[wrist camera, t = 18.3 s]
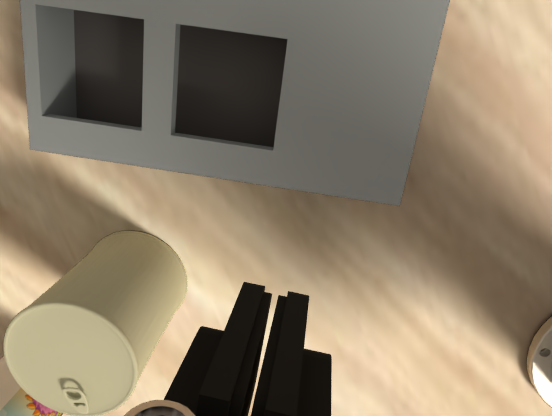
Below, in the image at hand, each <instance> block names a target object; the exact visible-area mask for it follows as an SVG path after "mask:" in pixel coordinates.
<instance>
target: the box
mask: <svg viewBox="0 0 552 416" xmlns="http://www.w3.org/2000/svg"><path fill="white" fill-rule="evenodd" d="M449 2H450V0H20V9H21V24H22V39H23V54H24V68H25V83H26V98H27V113H28V128H29V143H30V150H36V151H42V152H49V153H55V154H62V155H69V156H75V157H82V158H88V159H95V160H101V161H108V162H114V163H121V164H127V165H134V166H140V167H147V168H154V169H160V170H167V171H173V172H180V173H186V174H193V175H199V176H206V177H212V178H219V179H225V180H232V181H239V182H245V183H252V184H258V185H265V186H271V187H278V188H284V189H291V190H297V191H304V192H311V193H317V194H324V195H330V196H337V197H343V198H350V199H356V200H363V201H369V202H376V203H382V204H389V205H396V206H400V203H401V199H402V195H403V191H404V187H405V183H406V179H407V174H408V170H409V166H410V162H411V158H412V154H413V150H414V146H415V142H416V137H417V133H418V129H419V125H420V121H421V117H422V113H423V109H424V105H425V100H426V96H427V92H428V88H429V84H430V80H431V76H432V72H433V67H434V63H435V59H436V55H437V51H438V47H439V43H440V39H441V35H442V30H443V26H444V22H445V18H446V14H447V10H448V6H449Z"/></svg>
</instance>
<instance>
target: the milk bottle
mask: <svg viewBox="0 0 552 416" xmlns="http://www.w3.org/2000/svg"><path fill="white" fill-rule="evenodd" d="M62 414H63V413H60V412H58V411H55V410H53V409H50V408H48V407H46V406H44V405H43V404H41V403H39V402H38V401H36V400H35V399H33V398H32V397H31V396H30V395H28V394H27V393H26V392H25V391H24V390H23V389H22V388H21V387H20V386H19V384H18V383H17V382H16V380H15V379H14V377H13V376H12V374H11V373H10V370H9V368H8V366H7V364H6V361H5V357H4V356H3V357H2V358H1V359H0V416H62Z"/></svg>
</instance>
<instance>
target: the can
mask: <svg viewBox="0 0 552 416" xmlns="http://www.w3.org/2000/svg"><path fill="white" fill-rule="evenodd" d="M186 292H187V276H186V271H185V268H184V266H183V264H182V262H181V260H180V258H179V257H178V255H177V254H176V253H175V252H174V251H173V249H172V248H171V247H169V246H168V245H167V244H166V243H164V242H163V241H162V240H160V239H158V238H156V237H154V236H152V235H150V234H147V233H143V232H138V231H121V232H117V233H113V234H111V235H108V236H106V237H105V238H103V239H102V240H101V241H99V242H98V243H97V244H96V245H95V246H94V248H93V249H92V251H91V252H90V253H89V254H88V255H87V256H86V257H84V258H83V259H82V260H81V261H80V262H79V263H78V264H77V265H76V266H74V267H73V268H72V269H71V270H70V271H69V272H68V273H66V274H65V275H64V276H63V277H62V278H61V279H60V280H59V281H57V282H56V283H55V284H54V285H53V286H52V287H51V288H49V289H48V290H47V291H46V292H45V293H44V294H42V295H41V296H40V297H39V298H38V299H37V300H35V301H34V302H33V303H32V304H31V305H29V306H28V307H27V308H25V309H23V310H22V311H21V312H19V313H18V314H17V315H16V316H15V317H14V318H13V320H12V321H11V322H10V324H9V326H8V327H7V330H6V332H5V336H4V342H3V350H4V357H5V361H6V364H7V366H8V368H9V370H10V373H11V374H12V376H13V377H14V379H15V380H16V382H17V383H18V384H19V386H20V387H21V388H22V389H23V390H24V391H25V392H26V393H27V394H28V395H30V396H31V397H32V398H33V399H35V400H36V401H38V402H39V403H41V404H43V405H44V406H46V407H48V408H50V409H53V410H55V411H58V412H60V413H64V414H68V415H73V416H98V415H103V414H106V413H109V412H111V411H114V410H115V409H117V408H119V407H120V406H121V405H123V404H124V403H125V402H126V401H127V400H128V399H129V397H130V396H131V395H132V393H133V391H134V389H135V387H136V384H137V381H138V379H139V377H140V376H141V374H142V372H143V370H144V368H145V366H146V364H147V362H148V360H149V359H150V357H151V355H152V353H153V351H154V349H155V347H156V346H157V344H158V342H159V340H160V338H161V336H162V335H163V333H164V331H165V329H166V327H167V326H168V324H169V322H170V320H171V319H172V317H173V315H174V313H175V312H176V311H177V310H178V309H179V307H180V306H181V304H182V303H183V301H184V298H185V296H186Z"/></svg>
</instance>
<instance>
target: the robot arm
mask: <svg viewBox="0 0 552 416" xmlns="http://www.w3.org/2000/svg"><path fill="white" fill-rule="evenodd" d="M264 291H265V286H261V285H256V284H252V283H247V282H244V283H243V285H242V288H241V290H240V293H239V295H238V298H237V300H236V303H235V305H234V308H233V310H232V313H231V315H230V318H229V320H228V323H227V325H226V328H225V330H224V331H222V330H217V329H212V328H208V327H203V326H202V327H200V329H199V330H198V332H197V334H196V336H195V338H194V340H193V342H192V344H191V346H190V348H189V350H188V352H187V354H186V356H185V358H184V360H183V362H182V364H181V366H180V368H179V370H178V372H177V374H176V376H175V378H174V380H173V382H172V384H171V386H170V388H169V390H168V392H167V394H166V396H165V398H164V400H153V401H149V402H145V403H142V404H140V405H138V406H136V407H134V408H132V409H131V410H130V411H129V412H127V413H126V414H125V415H124V416H248V413H249V408H250V404H251V400H252V396H253V392H254V387H255V382H256V377H257V372H258V367H259V361H260V356H261V351H262V345H263V340H264V335H265V329H266V324H267V319H268V313H269V308H270V303H271V297H272V294H271V293H266V292H264ZM308 303H309V296H308V295H303V294H299V293H294V292H289V291H288V295H287V297H285V296H281V295H279V296H278V300H277V305H276V309H275V313H274V317H273V322H272V326H271V330H270V335H269V339H268V343H267V347H266V352H265V356H264V360H263V365H262V369H261V373H260V377H259V382H258V386H257V390H256V395H255V399H254V404H253V408H252V413H251V416H331V354H326V353H322V352H317V351H312V350H308V349H304V341H305V332H306V322H307V312H308ZM527 371H528V374H529V378H530V381H531V383H532V384H533V386H534V388H535V390H536V391H537V393H538V394H539V395H540V397H541V398H542V399H543V401H544V402H545V403H546V404H548V405H549V406H550V407H551V408H552V317H551V318H549V319H548V320H547V321H546V322H545V323H544V324H543V325H542V327H541V328H540V329H539V331H538V332H537V333H536V335H535V336H534V338H533V341H532V343H531V345H530V347H529V351H528V356H527Z"/></svg>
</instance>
